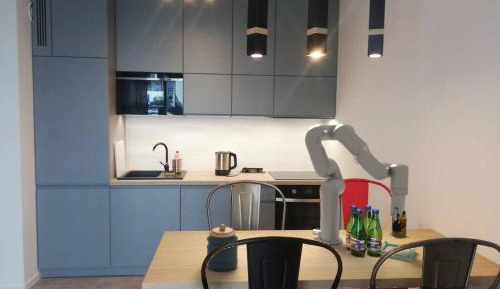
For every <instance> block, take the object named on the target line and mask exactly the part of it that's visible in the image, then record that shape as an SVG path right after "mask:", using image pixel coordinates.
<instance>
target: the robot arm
mask: <svg viewBox="0 0 500 289" xmlns="http://www.w3.org/2000/svg"><path fill="white" fill-rule="evenodd" d="M324 141H338V143H340V144H341V145H342V146H343V147H344V148H345V149H346V150H347V151H348V152H349V153H350V154H351V155H352V156H353V158H354V159H355V160H356V162H357V163H358V164H359V165H360V167H361V168H362V169H363V170H364V171H365V172H366V173H367V174H368V175H369V176H370V177H371V178H373V179H374V180H377V181H383V180H385V179H390V182H389V183H390V185H389V191H390V192H389V194H390V195H391V199H390V211H389V212H390V213H389V215H390V216H392V217H393V214H394V217H393V231H396V232H400V227H401V223H400V217H402V214H403V212H404V211H405V212H406V196H408V194H409V172H410V170H409V166H408V165H407V164H405V163H388V162H381V161H380V160H378V159H377V157H375V156H374V154H372V152H371V151H370V148H369V145H368V143H366V141H364V139H362V137H361V136H360V135H358V134H357V133H356V131H355V128H354V127H353V126H352V125H351V124H347V123H346V124H345V123H342V124H320V123H319V124H315V125H313V126H311V127H310V128H309V129H308V130H307V132H306V134H305V136H304V142H305V146H306V150H307V152H308V154H309V158H310V161H311V164H312V166H313V169H314V172H315V174H316V175H317V177H319V178H320V179H321V178H323V179H324V181H323V182H322V183H321V184H320V186H319V196H320V223H319V225H320V228H319V230H318V229H313V230H312V233H313V235H315V236H316V235H317V236H316V240H317V242H319V241H322V242H325V243H327V244H326V245H330V244H331V245H333V246H334V245H340V244H342V243H343V239H342V237H340V223H341V221H340V220H341V219H340V218H341V201H340V196H341V195H342V194H343V193H344V191H345V189H346V184H345V180H344V178H343V175H342V172H341V170H340V167H339V165H338V162H336V160H335V159H333V158H331V157H329V156H328V154H327V152H326V148H325V147H324V145H323V142H324ZM397 215H399V216H397ZM398 218H399V219H398ZM331 245H330V246H331Z"/></svg>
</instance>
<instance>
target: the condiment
mask: <svg viewBox="0 0 500 289" xmlns="http://www.w3.org/2000/svg"><path fill="white" fill-rule="evenodd" d="M406 214H407V212H406V210H405V211H404V212H403V214H402V217H400V223H401V227H400V232H396V231H393V217H394V214H393V215H392V218H391V220H392V221H391V224H392V226H391V232H386V233H385V234H386V235H388V236H390V237H392V238H395V239H396V240H400V239H403V240H404V239H407V238H410V236H408V235H407V224H408V223H407V215H406ZM397 216H399V215H397ZM398 219H399V218H398Z"/></svg>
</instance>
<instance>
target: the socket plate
mask: <svg viewBox="0 0 500 289" xmlns="http://www.w3.org/2000/svg"><path fill="white" fill-rule="evenodd" d="M381 245H382V248H381V251H380V255H381V257H383V256H382V255H383V254H384V253H386V252H387V251H388V250H390V249H392V248H394V247H398V246H401V245H402V244H398V243H394V242H388V241H387V240H384V241H383V242H382V244H381ZM415 254H416V248H415V249H409V250H406V251H402V252H399V253H396V254H395V255H393V256H391V257H389V258H391V259H396V260H400V261H404V262H405V261H406V262H412V259H413V258H414V255H415ZM380 255H379V256H380Z"/></svg>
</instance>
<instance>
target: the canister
mask: <svg viewBox="0 0 500 289" xmlns="http://www.w3.org/2000/svg"><path fill="white" fill-rule="evenodd" d="M236 234H237V231H236V230H234V229H233V228H232V227H229V226H226V224H224V223H222V224H220V225H219V226H217V227H213V228H212V229H211V230H210V231H209V232H208V236H207V237H206V241H207V244H206V256H207V255H208V254H209V253H210V252H211V251H212V250H213V249H215V248H216V247H218V246H220V245H222V244H225V243H228V242H232V241H237V242H238V240H239V238H238V237H239V236H237V235H236ZM238 248H239V245H238V246H234V247H230V248H226V249H223V250H221V251H219V252H218V253H216V254H215V255H214V256H213V257H212V258H211V259H210V260H209V262H208V265H207V264H206V266H207V268H208V270H210V271H214V272H217V273H218V272H220V273H224V272H229V271H233V270H234V269H236V268H237V267H238V264H239V262H238V261H239V260H238Z"/></svg>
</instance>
